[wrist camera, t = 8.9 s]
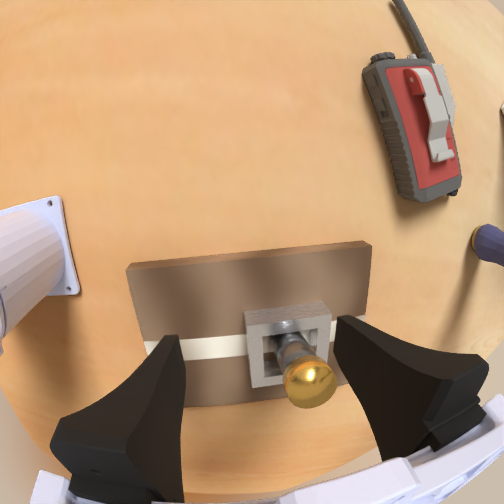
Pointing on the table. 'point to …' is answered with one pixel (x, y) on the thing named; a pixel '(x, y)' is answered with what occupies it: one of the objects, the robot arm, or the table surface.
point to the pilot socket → (280, 323)
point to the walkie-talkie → (416, 118)
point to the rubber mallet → (489, 244)
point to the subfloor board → (242, 308)
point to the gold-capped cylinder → (303, 370)
